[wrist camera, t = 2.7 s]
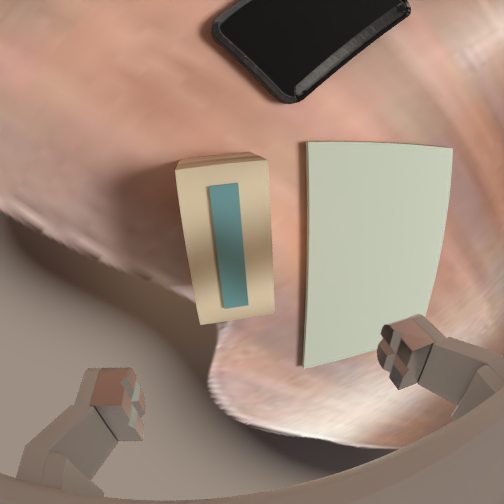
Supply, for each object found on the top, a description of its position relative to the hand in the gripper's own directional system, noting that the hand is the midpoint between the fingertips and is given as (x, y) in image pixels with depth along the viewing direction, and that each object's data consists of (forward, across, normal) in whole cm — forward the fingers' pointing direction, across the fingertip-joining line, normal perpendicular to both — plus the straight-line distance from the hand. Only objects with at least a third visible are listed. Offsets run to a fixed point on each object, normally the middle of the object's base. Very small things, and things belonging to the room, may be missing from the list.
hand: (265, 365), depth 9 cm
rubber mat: (+13, -13, +4) cm, 19 cm away
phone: (+13, -8, -16) cm, 22 cm away
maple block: (+13, 0, -1) cm, 13 cm away
